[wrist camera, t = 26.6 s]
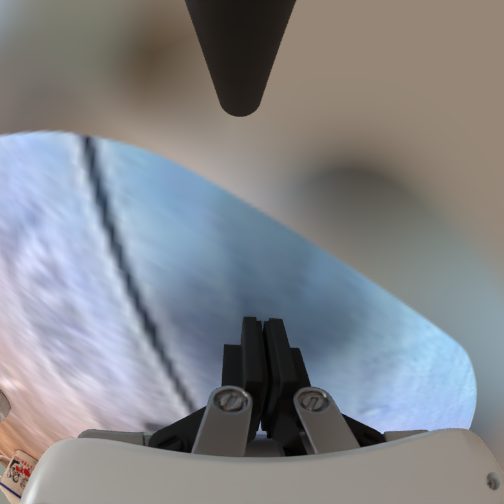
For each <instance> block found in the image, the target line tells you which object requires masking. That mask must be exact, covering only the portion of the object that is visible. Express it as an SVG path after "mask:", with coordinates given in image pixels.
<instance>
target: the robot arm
mask: <svg viewBox="0 0 504 504" xmlns="http://www.w3.org/2000/svg"><path fill="white" fill-rule="evenodd" d="M260 420H261V429H262V431H266V433H267V438H272V439H273V440H275V441H276V442H278V450H279V453H280V456H281V457H244V455H245V449H246V445H247V444H248V443H250V442H251V441H252V440H254V439H255V436H256V431H258V429H259V425H260ZM19 504H504V474H503V472H502V470H501V468H500V466H499V465H498V463H497V461H496V460H495V458H494V456H493V455H492V454H491V452H490V450H489V449H488V448H487V446H486V445H485V444H484V442H483V441H482V440H481V439H480V438H479V437H478V436H477V435H476V434H475V433H474V432H472V431H470V430H467V429H461V428H447V429H438V430H433V431H428V430H412V431H387V432H384V434H381V433H380V432H378V431H377V430H375V429H373V428H371V427H369V426H366V425H364V424H362V423H360V422H358V421H356V420H354V419H352V418H350V417H348V416H346V415H344V414H342V413H341V412H340V411H339V409H338V407H337V405H336V404H335V402H334V400H333V399H332V397H331V396H330V394H329V393H327V392H326V391H325V390H323V389H320V388H317V387H311V384H310V381H309V378H308V375H307V371H306V368H305V365H304V362H303V358H302V355H301V352H300V349H299V348H290V346H289V342H288V339H287V335H286V331H285V327H284V324H283V320H282V319H276V318H269V321H264V325H263V332H262V325H261V321H257V319H256V317H243V325H242V334H241V344H240V345H228V344H224V355H223V369H222V383H221V387H219V388H216V389H215V390H214V391H213V392H212V393H211V395H210V397H209V400H208V403H207V406H205V407H203V408H202V409H200V410H198V411H196V412H194V413H192V414H191V415H189V416H187V417H185V418H183V419H181V420H179V421H177V422H175V423H173V424H171V425H169V426H167V427H165V428H163V429H161V430H159V431H157V432H156V433H154V434H153V435H144V434H143V433H139V432H119V431H106V430H96V429H90V430H86V431H83V432H82V433H81V434H80V435H79V436H78V438H72V439H65V440H61V441H58V442H56V443H54V444H53V445H51V446H50V447H49V448H48V449H47V450H46V451H45V452H44V454H43V455H42V456H41V458H40V459H39V461H38V463H37V464H36V466H35V468H34V470H33V472H32V474H31V476H30V478H29V480H28V482H27V484H26V487H25V489H24V491H23V494H22V497H21V500H20V502H19Z"/></svg>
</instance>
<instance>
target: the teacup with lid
mask: <svg viewBox="0 0 504 504" xmlns="http://www.w3.org/2000/svg"><path fill="white" fill-rule="evenodd" d="M2 460H5V461H8V462H9V465H8V467H7V469H6V471H5V473H4V475H3V476H1V475H0V478H1V481H0V489H1V490H2V491H3V492H4V494H5V495H6V496H7V498H8V500H9V501H10V502H11V504H19V502H20V500H21V497H22V494H23V491H24V489H25V487H26V484H27V482H28V480H29V478H30V476H31V474H32V472H33V470H34V468H35V466H36V464H37V463H38V461H37V460H35V459H34V458H32V457H31V456H29V455H28V454H26V453H24V452H22V451H19V450H17V451H15V453H14V455H13V457H12V459H9V458H8V457H6V456H2V455H0V461H2Z"/></svg>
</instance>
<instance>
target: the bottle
mask: <svg viewBox="0 0 504 504" xmlns="http://www.w3.org/2000/svg"><path fill="white" fill-rule="evenodd" d="M9 411H10V405H9V403H8V401H7V399H6V398H5V396H4V395H3V394H2V392H1V391H0V421H1V420H5V418H6V417H7V415H8V413H9Z"/></svg>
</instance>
